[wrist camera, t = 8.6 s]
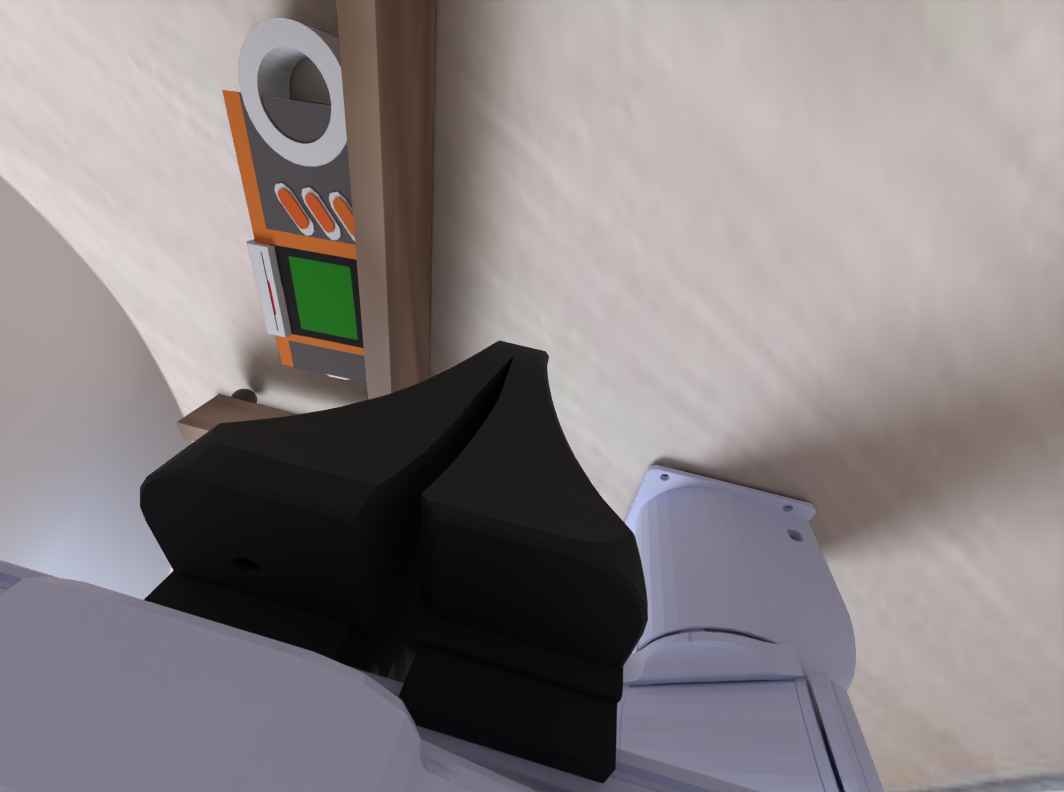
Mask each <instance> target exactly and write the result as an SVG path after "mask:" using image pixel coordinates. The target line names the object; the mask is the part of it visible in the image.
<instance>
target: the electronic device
mask: <svg viewBox="0 0 1064 792" xmlns="http://www.w3.org/2000/svg"><path fill="white" fill-rule="evenodd" d="M305 57H309V58H310V59H311V60H312V62H313V63H314V64H315V65H316V66H317V68H318V69H319V71H320V72H321V74H322V76H323V78H324V80H325V82H326V84H327V87H328V90H329V94H330V99H331V105H329V104H328V105H325V104H322V103H320V104H318V103H315V102H313V103H311V102H307V101H306V102H304V101H300V100H298V101H297V100H293V99H290V90H289V87H290V79H291V75H292V72H293V70H294V68H295V66H296V65H297V64H298V63H299V61H301V60H302V59H304V58H305ZM239 82H240V90H241V92H234V91H226V90H222V91H223V95H224V100H225V104H226V109H227V114H228V118H229V123H230V127H231V132H232V137H233V141H234V146H235V151H236V155H237V160H238V164H239V169H240V174H241V178H242V183H243V187H244V192H245V197H246V201H247V206H248V210H249V215H250V220H251V224H252V229H253V234H254V238H255V239H254V240H250V241H247V247H248V251H249V256H250V260H251V264H252V269H253V273H254V277H255V282H256V286H257V291H258V295H259V299H260V304H261V308H262V313H263V317H264V321H265V326H266V330H267V334H272V335H276V340H277V344H278V349H279V353H280V358H281V363H282V365H286V366H291V367H295V368H300V369H305V370H310V371H314V372H319V373H324V374H327V375H328V376H330V377H335V378H340V379H344V380H349V379H352V380H357V381H361V382H366V369H365V357H364V345H363V332H362V320H361V308H360V295H359V283H358V271H357V258H356V246H355V234H354V221H353V209H352V197H351V184H350V172H349V160H348V147H347V135H346V123H345V110H344V98H343V86H342V73H341V61H340V49H339V39H338V38H336V37H334V36H332V35H330V34H328V33H326V32H324V31H321V30H319V29H316V28H313V27H311V26H308V25H305V24H303V23H300V22H298V21H295V20H291V19H287V18H271V19H268V20H265V21H262V22H261V23H259V24H258V25H257V26H255V27H254V28H253V29H252V30H251V32H250V33H249V35H248V36H247V37H246V39H245V42H244V44H243V46H242V49H241V54H240V59H239ZM366 383H367V382H366Z"/></svg>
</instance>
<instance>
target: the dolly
mask: <svg viewBox="0 0 1064 792" xmlns="http://www.w3.org/2000/svg"><path fill="white" fill-rule="evenodd" d="M336 12H337V24H338V36H339V49H340V61H341V73H342V86H343V98H344V110H345V123H346V135H347V147H348V160H349V172H350V184H351V197H352V209H353V221H354V234H355V246H356V258H357V271H358V283H359V295H360V308H361V320H362V332H363V345H364V357H365V369H366V382H367V394H368V400H369V399H373V398H377V397H380V396H384V395H387V394H390V393H393V392H396V391H399V390H402V389H405V388H407V387H410V386H413V385H415V384H418V383H420V382H423V381H425V380H427V379H429V344H430V292H431V240H432V188H433V136H434V85H435V33H436V0H336ZM256 403H257V396H256V394H255V393H254V392H253V391H251V390H249V389H239V390H237V391H235V392H234V393H233V395H232V397H228V396H224V395H220V394H218V395H217V396H215V397H214V398H212V399H211V400H209V401H208V402H206V403H205V404H203V405H202V406H200V407H199V408H197V409H196V410H194V411H193V412H191V413H190V414H188V415H187V416H185V417H184V418H182V419H181V420H179V421H178V422H177V424H178V426H179V429H180V431H181V434H182V436H183V438H185V439H188V440H192V441H196V440H197V439H199V438H200V437H201V436H203V435H204V434H205V433H207V432H208V431H209V430H211V429H212V428H214V427H215V426H216V425H218V424H219V423H227V422H239V421H248V420H258V419H268V418H277V417H285V416H292V415H298V414H294V413H290V412H286V411H282V410H278V409H274V408H271V407H267V406H263V405H259V404H256Z"/></svg>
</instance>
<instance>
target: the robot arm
mask: <svg viewBox="0 0 1064 792" xmlns="http://www.w3.org/2000/svg"><path fill="white" fill-rule="evenodd" d="M548 359H549V356H548V354H547V353H546V351H542V350H537V349H533V348H529V347H525V346H520V345H516V344H512V343H508V342H503V341H498V342H496V343H494V344H492V345H491V346H489V347H487V348H486V349H484V350H482V351H481V352H479V353H477V354H475V355H474V356H472V357H470V358H469V359H467V360H465V361H463V362H461V363H460V364H458V365H456V366H454V367H452V368H450V369H448V370H446V371H444V372H442V373H440V374H438V375H435V376H433V377H431V378H429V379H427V380H425V381H423V382H420V383H418V384H415V385H413V386H410V387H407V388H405V389H402V390H399V391H396V392H393V393H390V394H387V395H384V396H380V397H377V398H373V399H369V400H365V401H362V402H358V403H354V404H350V405H347V406H342V407H338V408H333V409H328V410H323V411H317V412H311V413H305V414H299V415H292V416H285V417H277V418H268V419H258V420H248V421H239V422H227V423H219V424H218V425H216V426H215V427H214V428H212V429H211V430H209V431H208V432H207V433H205V434H204V435H203V436H201V437H200V438H199V439H197V440H196V441H195V442H193V443H192V444H190V445H189V446H188V447H186V448H185V449H184V450H182V451H181V452H180V453H178V454H177V455H176V456H174V457H173V458H171V459H170V460H169V461H167V462H166V463H165V464H163V465H162V466H161V467H160V468H158V469H157V470H155V471H154V472H152V474H150V475H149V476H147V477H146V479H145V481H144V482H143V484H142V485H141V487H140V507H141V509H142V512H143V515H144V517H145V520H146V522H147V524H148V526H149V527H150V529H151V531H152V533H153V535H154V536H155V538H156V540H157V541H158V543H159V545H160V547H161V549H162V551H163V552H164V554H165V556H166V558H167V559H168V561H169V563H170V565H171V567H172V568H173V570H174V571H173V572H172V573H171V574H170V575H169V576H168V577H167V578H166V579H165V580H164V581H163V582H162V583H161V584H160V585H159V586H157V587H156V588H155V589H154V590H153V591H152V592H151V594H149V595H148V597H146V598H145V599H144V600H142V599H138V598H135V597H132V596H128V595H125V594H122V593H119V592H115V591H112V590H109V589H105V588H102V587H99V586H96V585H92V584H89V583H85V582H81V581H75V580H69V579H62V578H58V577H54V576H51V575H48V574H44V573H41V572H38V571H35V570H31V569H28V568H25V567H21V566H18V565H15V564H12V563H8V562H5V561H2V560H0V792H884V790H883V787H882V784H881V781H880V779H879V776H878V773H877V771H876V768H875V765H874V763H873V760H872V757H871V755H870V752H869V749H868V747H867V744H866V741H865V739H864V736H863V733H862V731H861V728H860V725H859V723H858V720H857V717H856V715H855V712H854V709H853V707H852V704H851V701H850V699H849V696H848V694H847V690H848V688H849V686H850V684H851V681H852V679H853V675H854V671H855V663H856V648H855V637H854V631H853V627H852V623H851V619H850V616H849V613H848V611H847V608H846V606H845V604H844V601H843V599H842V597H841V594H840V592H839V590H838V588H837V585H836V583H835V581H834V578H833V576H832V574H831V572H830V569H829V567H828V565H827V562H826V560H825V558H824V555H823V553H822V551H821V549H820V546H819V544H818V542H817V539H816V537H815V535H814V533H813V530H812V528H811V526H810V523H809V521H810V520H811V519H812V517H813V516H814V515H815V513H816V511H815V508H814V506H813V505H812V504H810V503H808V502H804V501H800V500H796V499H792V498H788V497H784V496H780V495H776V494H772V493H768V492H764V491H760V490H756V489H752V488H748V487H744V486H740V485H736V484H732V483H728V482H724V481H720V480H716V479H712V478H708V477H704V476H700V475H696V474H692V473H688V472H684V471H680V470H676V469H672V468H668V467H664V466H660V465H652V466H650V467H649V468H648V469H647V471H646V474H645V476H644V478H643V481H642V483H641V485H640V487H639V490H638V492H637V494H636V497H635V499H634V501H633V504H632V506H631V508H630V511H629V513H628V515H627V518H626V520H625V522H623V521H622V520H621V519H620V517H619V516H618V515H617V514H616V513H615V512H614V511H613V510H612V509H611V507H610V506H609V505H608V504H607V503H606V502H605V501H604V500H603V498H602V497H601V496H600V494H599V493H598V492H597V490H596V489H595V488H594V486H593V485H592V483H591V482H590V480H589V479H588V477H587V475H586V474H585V472H584V471H583V469H582V467H581V466H580V464H579V463H578V461H577V459H576V458H575V456H574V454H573V452H572V450H571V448H570V446H569V444H568V442H567V440H566V438H565V435H564V433H563V431H562V428H561V426H560V423H559V420H558V418H557V414H556V411H555V408H554V405H553V401H552V397H551V392H550V388H549V382H548V374H547V364H548ZM662 474H667V476H662ZM787 505H789V506H787ZM784 506H787V507H784ZM634 648H635V653H633V654H631V653H632V651H633V650H634Z"/></svg>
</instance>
